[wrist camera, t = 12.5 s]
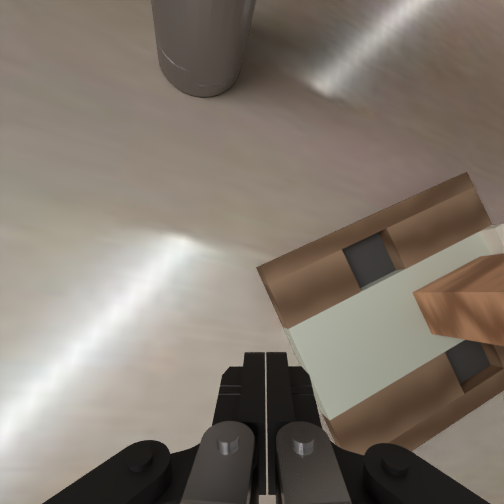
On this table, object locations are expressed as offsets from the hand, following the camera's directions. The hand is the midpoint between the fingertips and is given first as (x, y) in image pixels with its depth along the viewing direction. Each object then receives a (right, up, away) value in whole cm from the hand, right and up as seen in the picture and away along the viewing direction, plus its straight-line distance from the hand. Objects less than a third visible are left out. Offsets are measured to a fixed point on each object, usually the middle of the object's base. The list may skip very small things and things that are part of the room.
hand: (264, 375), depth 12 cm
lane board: (+17, -3, +27) cm, 32 cm away
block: (+23, 0, +26) cm, 35 cm away
